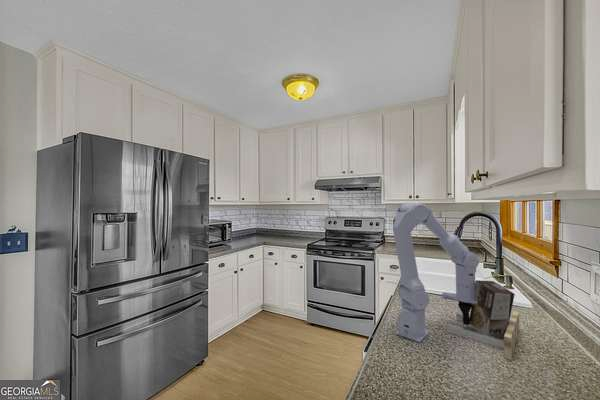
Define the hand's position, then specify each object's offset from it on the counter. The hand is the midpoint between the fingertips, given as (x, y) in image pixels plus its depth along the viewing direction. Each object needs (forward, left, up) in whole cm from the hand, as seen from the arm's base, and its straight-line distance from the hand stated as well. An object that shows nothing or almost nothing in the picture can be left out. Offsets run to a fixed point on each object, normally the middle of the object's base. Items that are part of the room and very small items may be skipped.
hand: (466, 323), depth 89 cm
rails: (0, -4, -2) cm, 4 cm away
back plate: (0, -12, -2) cm, 13 cm away
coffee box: (0, -6, -1) cm, 6 cm away
